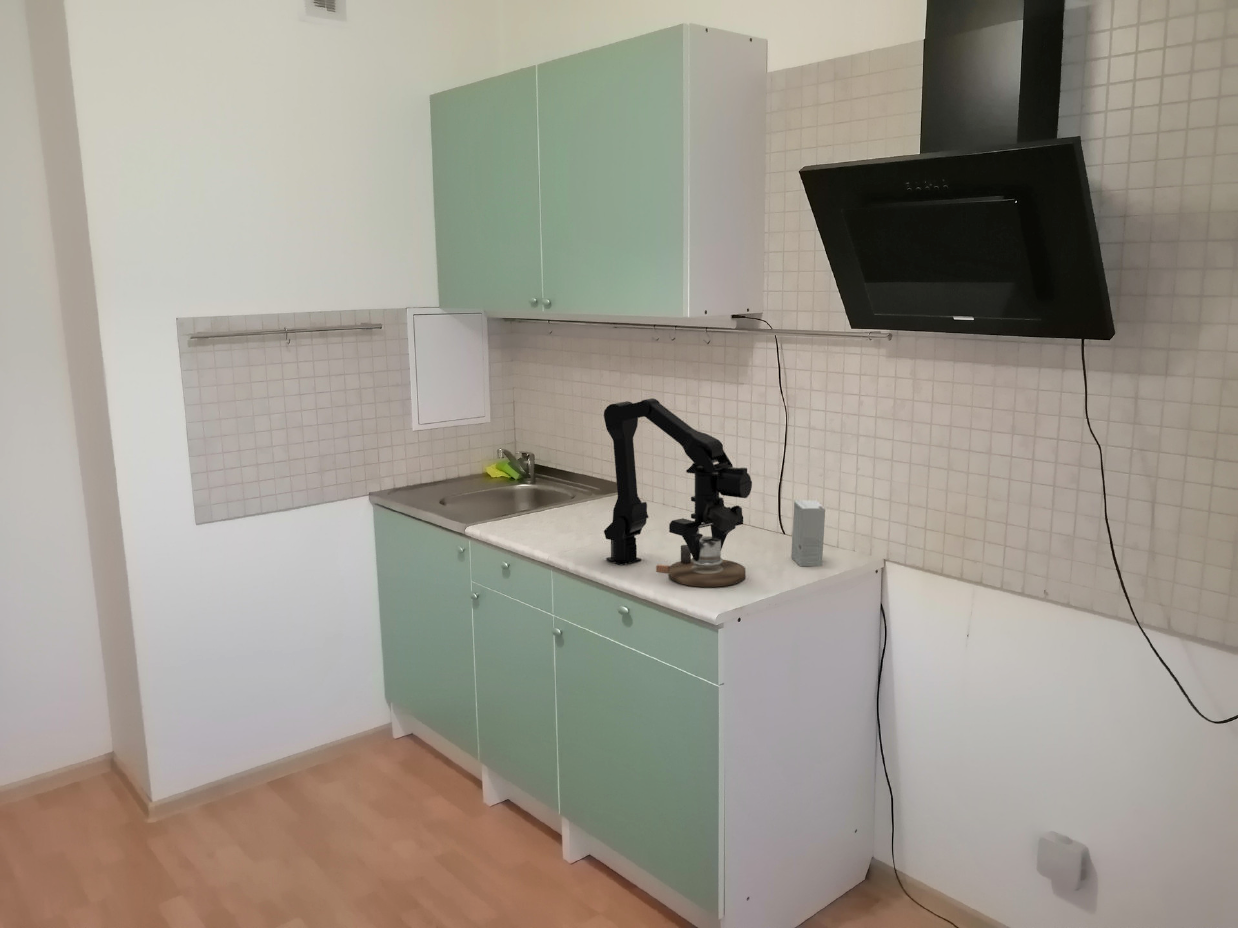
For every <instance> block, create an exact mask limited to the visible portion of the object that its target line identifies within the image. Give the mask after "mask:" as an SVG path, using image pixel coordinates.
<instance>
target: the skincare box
mask: <svg viewBox="0 0 1238 928" xmlns="http://www.w3.org/2000/svg"><path fill="white" fill-rule="evenodd" d="M792 517H793V520H792V532H791V533H792V535H791V536H792V537H791V554H790V556H791V557H790V558H792V559H793V561H795V562H796V564H797V565H798V566H799V567H821V566H823V557H824V556H823V554H824V553H823V551H824V536H825V535H824V534H825V520H826V508H825V507H824V506H823V505H822V503H819V502H818V500H816V499H814V500H813V499H810V500H809V499H805V500H804V499H802V500H799V499H795V500H793V516H792Z"/></svg>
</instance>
